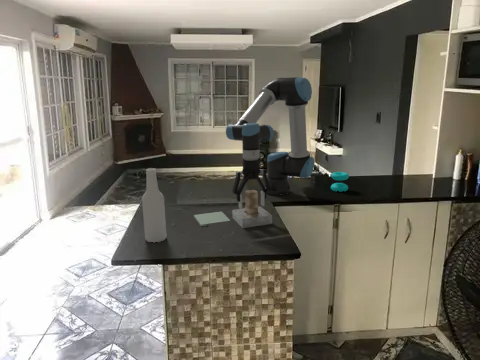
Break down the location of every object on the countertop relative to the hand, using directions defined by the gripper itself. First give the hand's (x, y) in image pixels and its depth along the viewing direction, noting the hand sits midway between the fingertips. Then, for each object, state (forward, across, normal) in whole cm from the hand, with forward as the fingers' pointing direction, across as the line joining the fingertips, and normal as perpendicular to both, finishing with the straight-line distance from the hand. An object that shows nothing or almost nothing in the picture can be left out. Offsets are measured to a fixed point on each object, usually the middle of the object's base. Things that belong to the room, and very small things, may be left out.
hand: (251, 206), depth 183 cm
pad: (+8, -16, +11) cm, 21 cm away
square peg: (+7, 0, 0) cm, 7 cm away
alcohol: (+8, -44, -3) cm, 45 cm away
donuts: (+8, +67, +32) cm, 75 cm away
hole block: (+8, 0, 0) cm, 8 cm away
